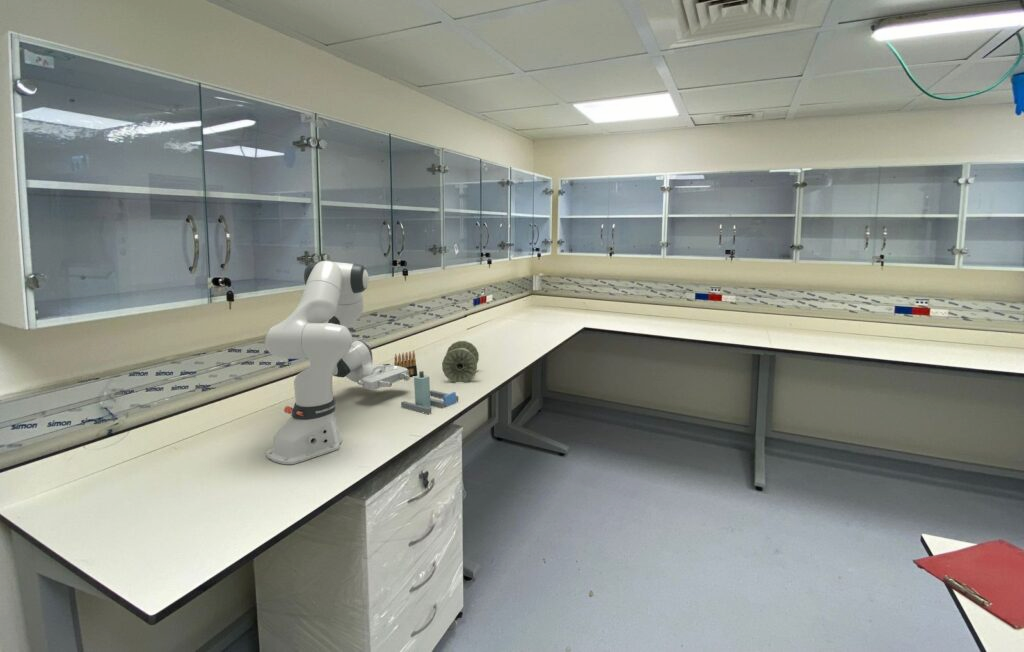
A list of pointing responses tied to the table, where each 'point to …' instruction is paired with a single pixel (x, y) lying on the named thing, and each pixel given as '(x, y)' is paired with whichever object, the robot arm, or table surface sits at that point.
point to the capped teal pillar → (422, 390)
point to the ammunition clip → (407, 363)
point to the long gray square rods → (432, 402)
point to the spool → (460, 361)
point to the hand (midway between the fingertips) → (399, 381)
